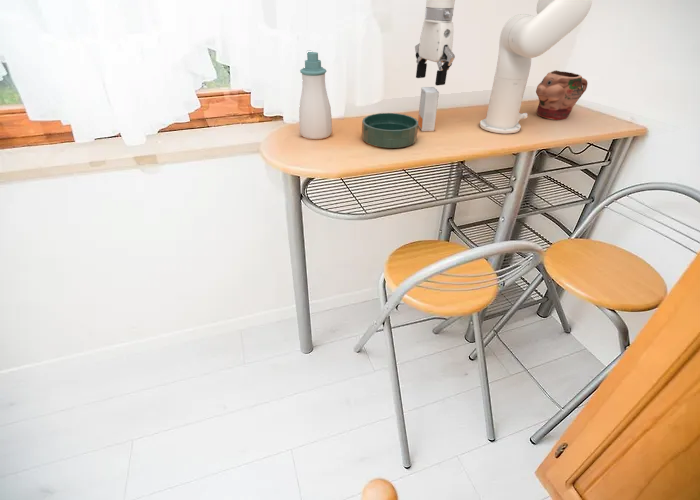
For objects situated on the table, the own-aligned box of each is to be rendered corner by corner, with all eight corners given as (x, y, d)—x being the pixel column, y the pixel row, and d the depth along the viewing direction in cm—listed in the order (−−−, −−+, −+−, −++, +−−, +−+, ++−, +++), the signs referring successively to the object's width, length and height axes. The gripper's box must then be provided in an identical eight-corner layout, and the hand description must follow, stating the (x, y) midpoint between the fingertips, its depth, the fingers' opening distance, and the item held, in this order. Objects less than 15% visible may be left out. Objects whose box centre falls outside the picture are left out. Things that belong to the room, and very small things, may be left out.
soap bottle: (326, 128, 127) (324, 49, 114) (336, 138, 120) (335, 55, 107) (296, 131, 124) (290, 51, 111) (304, 142, 117) (299, 57, 104)
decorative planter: (561, 107, 147) (574, 67, 139) (589, 117, 138) (605, 74, 130) (520, 113, 141) (531, 71, 133) (546, 124, 132) (560, 79, 124)
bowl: (397, 127, 128) (398, 110, 125) (427, 144, 116) (429, 125, 113) (352, 135, 122) (352, 117, 119) (379, 153, 110) (380, 134, 107)
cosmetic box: (417, 125, 130) (421, 86, 123) (429, 125, 130) (434, 86, 123) (421, 131, 125) (425, 92, 118) (434, 131, 125) (439, 91, 118)
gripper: (470, 18, 105) (458, 86, 115) (430, 12, 117) (423, 74, 127) (447, 19, 102) (437, 89, 112) (409, 12, 114) (403, 76, 124)
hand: (430, 81), depth 119 cm, fingers open, 9 cm apart
